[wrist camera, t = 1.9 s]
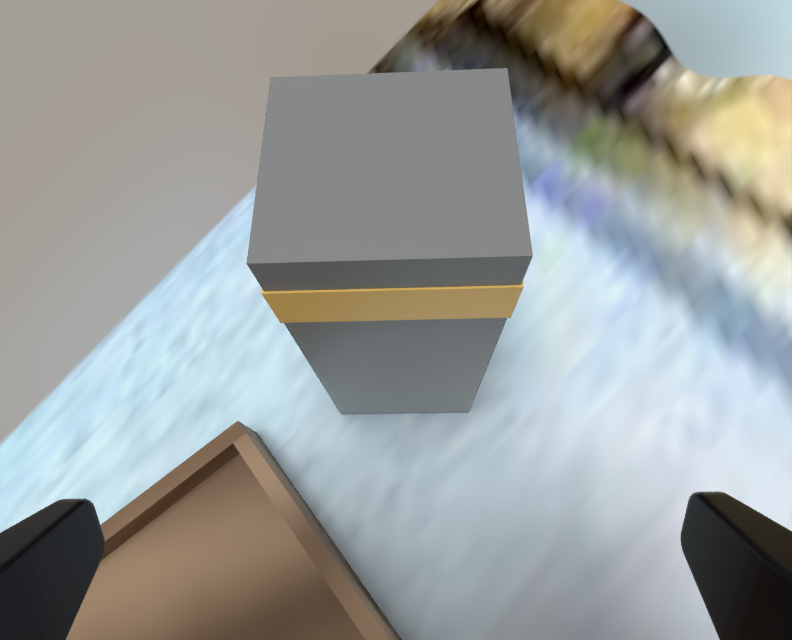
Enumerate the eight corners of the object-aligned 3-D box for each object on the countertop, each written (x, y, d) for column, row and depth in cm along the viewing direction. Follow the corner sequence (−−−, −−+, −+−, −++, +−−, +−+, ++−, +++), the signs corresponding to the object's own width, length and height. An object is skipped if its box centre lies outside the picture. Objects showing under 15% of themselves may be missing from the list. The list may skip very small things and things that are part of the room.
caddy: (469, 413, 21) (535, 257, 9) (340, 415, 22) (243, 265, 10) (462, 305, 23) (508, 66, 11) (344, 308, 24) (268, 76, 12)
